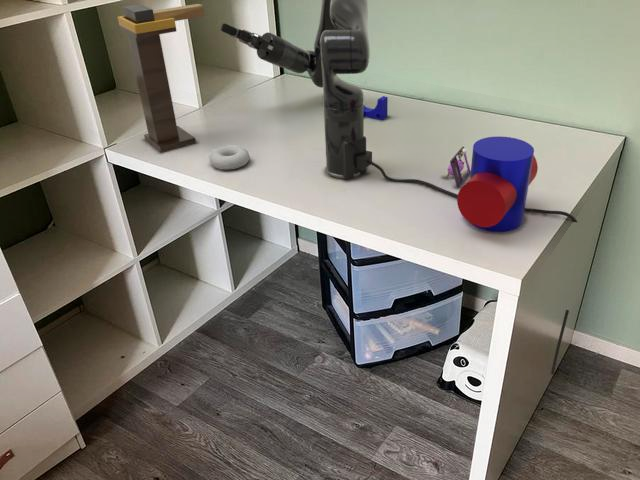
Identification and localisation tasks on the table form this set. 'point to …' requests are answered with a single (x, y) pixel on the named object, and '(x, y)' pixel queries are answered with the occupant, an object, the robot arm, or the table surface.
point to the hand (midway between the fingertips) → (229, 29)
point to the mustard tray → (146, 25)
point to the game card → (458, 167)
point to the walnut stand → (156, 91)
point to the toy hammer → (161, 13)
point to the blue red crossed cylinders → (498, 184)
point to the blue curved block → (378, 109)
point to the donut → (229, 157)
